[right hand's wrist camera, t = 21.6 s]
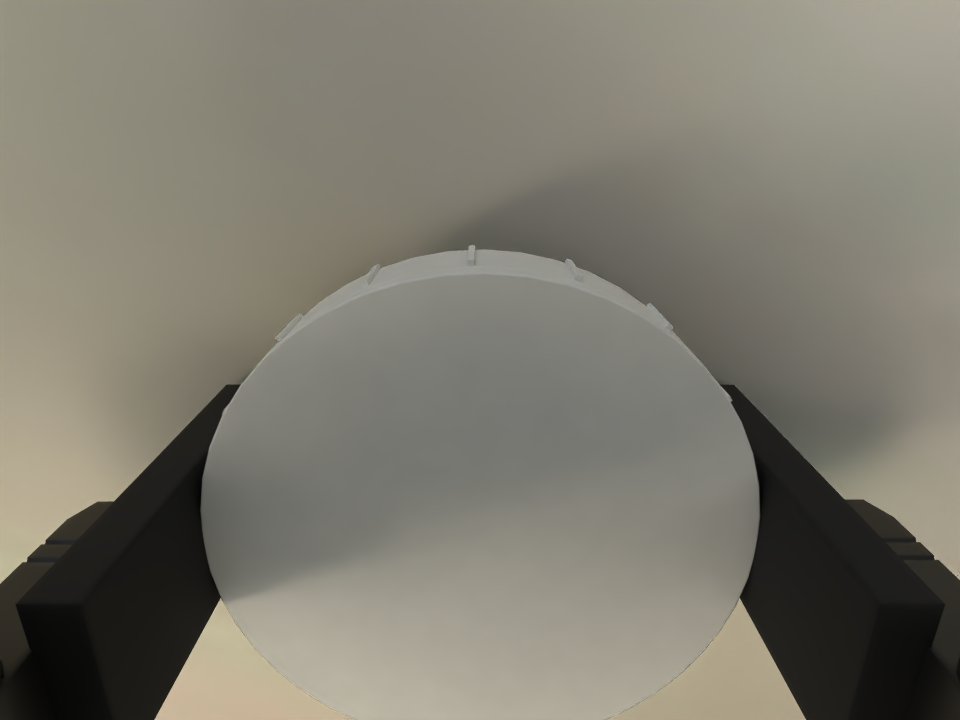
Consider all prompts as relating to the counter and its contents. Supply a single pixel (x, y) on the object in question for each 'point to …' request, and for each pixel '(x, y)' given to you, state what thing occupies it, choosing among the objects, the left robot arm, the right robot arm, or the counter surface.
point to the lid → (480, 495)
